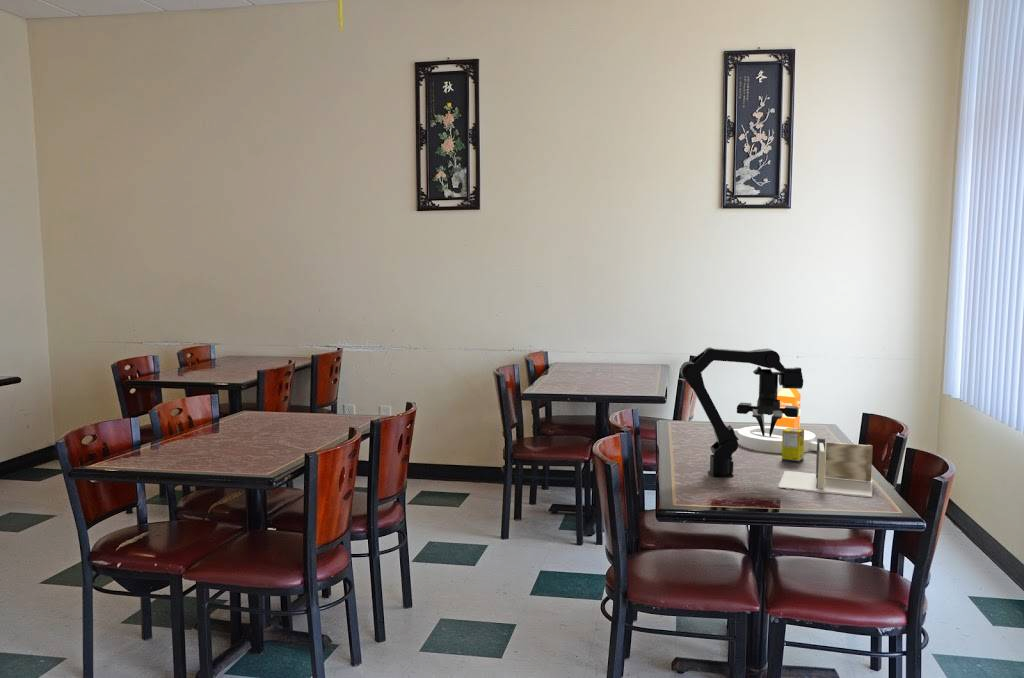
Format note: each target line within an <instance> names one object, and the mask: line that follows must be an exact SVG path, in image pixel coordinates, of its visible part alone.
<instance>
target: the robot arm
mask: <svg viewBox="0 0 1024 678" xmlns="http://www.w3.org/2000/svg"><path fill="white" fill-rule="evenodd" d="M714 361H717V362H719V361H720V362H731V363H743V364H744V363H745V364H752V365H756V366H757V368H756V369H754V370H753V371H752V373H753V374H754V375H759V376H758V377H759V378H758V379H759V381H758V382H759V383H758V398H757V400H756V401H757V403H756V405H752V403H751V402H739V403H738V405H737V406H736V414H739V415H740V414H742V415H747V414H748V413H749V412H752V418H755V420H756V421H757V422H758V424H759V425H758V426H760V429H761V432H762V435H763V436H764V434H765V427H764V426H765V415H768V416H771V417H770V418H771V419H770V420H771V421H770V425H769V426H770V432H769V437H771V435H772V432H773V429H774V427H775V424H776V422H777V420H778V419H781V418H782V417H783V415H782V414H785V415H786V417H798V415H799V408H798V407H797V406H787V405H786V407H785V408H780V400H777V394H778V393H779V391H778V387H779V386H782V387H781V388H783V389H797V390H799V389H800V390H802V389H803V386H804V376H803V373H802V367H797V366H796V367H785V366H784V365H783V364H782V362H781V356H780V354H779V353H778V352H777V351H775V350H774V349H771V348H759V349H752V350H740V349H726V348H715V347H714V348H713V347H710V346H709V347H706V348H705V349H704V350H703V351H701V353H699V354H698V355H695V357H694V358H692V359H691V360H690V361H684V362H683V363H682V364H681V365H680V369H679V372H680V374H681V376H682V378H683V379H684V380H685V381H686V382H687V383H688V385H689V386H690V388H691V389H692V390H693V392H694V394H695V395H696V398H697V399H698V401H699V404H700V405H701V407H702V409H703V411H704V412H705V415H706V417H707V419H708V420H709V422H710V424H711V427H712V429H713V432H714V436H715V439H716V441H715V442H714V443H713V444H712V445H711V446H710V451H711V453H712V454H710V455H709V470H708V471H707V473H709V475H711V476H712V475H713V477H714V476H715V477H716V478H722V476H731V477H734V476H735V475H734V460H733V457H732V456H733V454H734V453H735V452H737V450H738V448H739V444H738V440H739V439H738V437H737V436H736V435H735V433H734V430H733V429H734V428H733V427H732V425H730V424H729V425H728V426H727V425H726V424H725V423H724V420H723V419H722V417H721V415H720V413H719V412H718V409H717V407H716V405H715V404H714V402H713V400H712V398H711V396H710V395H709V392H708V390H707V389H706V385H705V382H704V379H703V376H702V372H703V371H705V369H706V368H707V367H709V366H710V364H711V363H713V362H714ZM762 367H763V368H762ZM772 369H774V370H775V371H772ZM778 385H779V386H778ZM715 477H714V478H715Z"/></svg>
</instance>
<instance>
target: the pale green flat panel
mask: <svg viewBox="0 0 1024 678" xmlns="http://www.w3.org/2000/svg"><path fill="white" fill-rule="evenodd" d="M825 466H826V450H825V451H824V444H823V443H819V464H818V488H824V482H825Z"/></svg>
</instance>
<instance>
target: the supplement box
mask: <svg viewBox="0 0 1024 678" xmlns="http://www.w3.org/2000/svg"><path fill="white" fill-rule="evenodd" d="M804 430H805V429H801V428H799V429H795V428H786V429H784V430H783V433H782V453H781V462H790V463H798V464H799V463H801V462H803V461H804V459H805V458H804V457H805V456H804V453H805V452H804Z"/></svg>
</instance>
